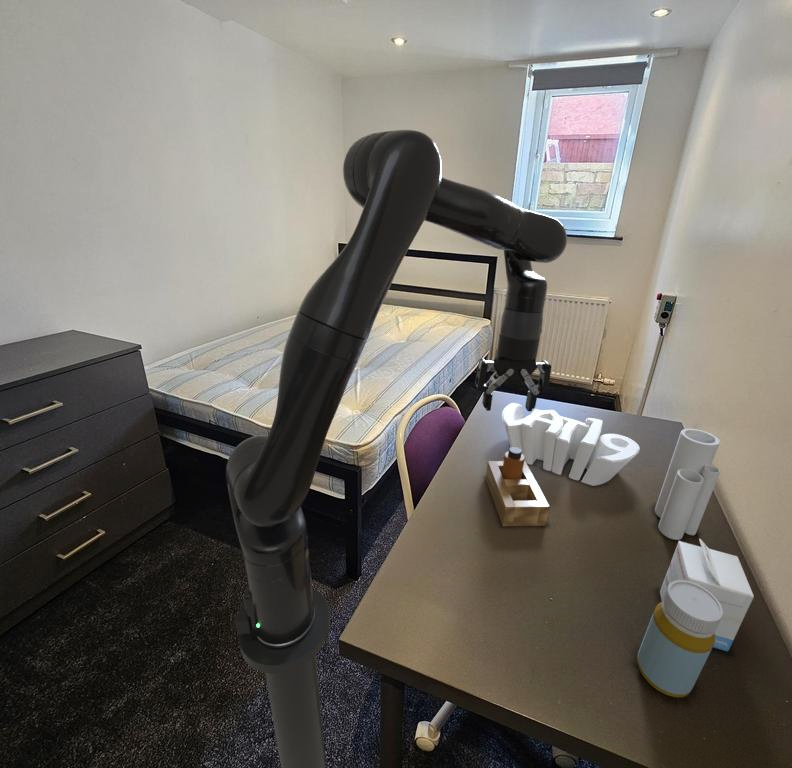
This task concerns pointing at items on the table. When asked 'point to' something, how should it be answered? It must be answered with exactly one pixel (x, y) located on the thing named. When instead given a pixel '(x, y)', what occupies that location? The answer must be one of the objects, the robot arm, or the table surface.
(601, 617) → the table surface
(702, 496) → the vase
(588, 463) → the white foam letters
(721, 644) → the tissue box
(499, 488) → the hole block
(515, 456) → the small bottle
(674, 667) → the bottle
